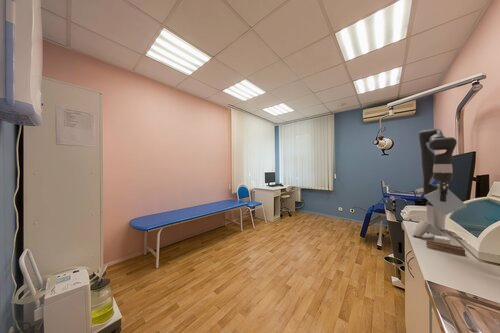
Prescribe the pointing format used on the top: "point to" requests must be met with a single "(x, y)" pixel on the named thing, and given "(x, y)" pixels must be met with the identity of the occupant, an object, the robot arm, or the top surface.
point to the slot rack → (445, 247)
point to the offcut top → (442, 239)
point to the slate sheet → (445, 207)
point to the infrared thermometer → (426, 229)
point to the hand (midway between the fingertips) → (442, 201)
